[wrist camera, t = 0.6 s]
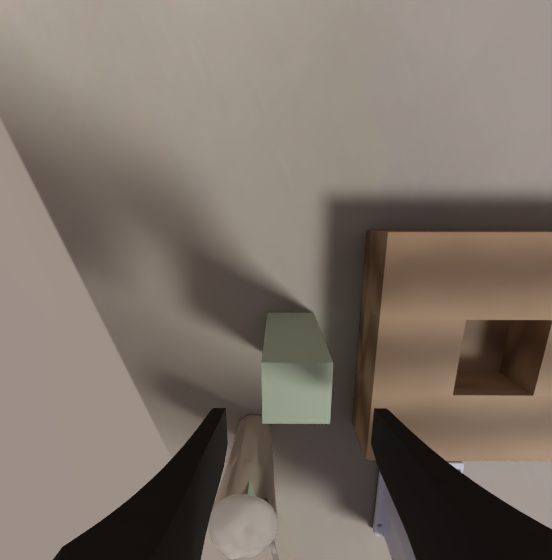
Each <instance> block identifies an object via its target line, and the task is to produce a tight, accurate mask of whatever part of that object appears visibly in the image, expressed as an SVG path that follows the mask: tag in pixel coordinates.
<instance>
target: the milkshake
mask: <svg viewBox="0 0 552 560" xmlns="http://www.w3.org/2000/svg"><path fill="white" fill-rule="evenodd" d="M277 530H278V517H277V506H276V494H275V482H274V464H273V447H272V430H271V427H270V424H262V416H260V415H248V416H246V417H245V418H243V419H241V420H240V422H239V425H238V428H237V431H236V435H235V438H234V442H233V445H232V449H231V452H230V456H229V459H228V463H227V466H226V469H225V472H224V475H223V477H222V480H221V483H220V486H219V489H218V492H217V495H216V499H215V502H214V505H213V508H212V512H211V515H210V519H209V532H210V536H211V539H212V541H213V543H214V544H215V546H216V547H217V548H218V549H219V550H221V551H222V552H223V553H224V554H225V555H226V556H227V557H228V558H229V559H231V560H233V559H236V558H240V557H253V556H255V555H257V554H258V553H260V552H261V551H263V550H264V549H266V548H267V547H268V546H269V545H270V548H271V552H272V556H273V560H279V559H278V555H277V550H276V546H275V542H274V538H275V536H276V534H277Z"/></svg>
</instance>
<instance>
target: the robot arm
mask: <svg viewBox="0 0 552 560" xmlns="http://www.w3.org/2000/svg"><path fill="white" fill-rule="evenodd" d="M227 444H228V442H227V425H226V408H213V409H212V410H211V411H210V412H209V414H208V415H207V416H206V418H205V419H204V421H203V422H202V423H201V425H200V426H199V427H198V429H197V430H196V431H195V432H194V434H193V435H192V436H191V437H190V439H189V440H188V441H187V442H186V443H185V445H184V446H183V447H182V448H181V449H180V450H179V451H178V453H177V454H176V455H175V456H174V457H173V458H172V459H171V460H170V461H169V462H168V464H167V465H166V466H165V467H164V468H163V469H162V470H161V471H160V472H159V473H158V474H157V475H156V476H155V477H154V478H153V479H151V480H150V481H149V482H148V483H147V484H146V485H145V486H144V487H143V488H142V489H140V490H139V491H138V492H137V493H136V494H135V495H134V496H132V497H131V498H130V499H129V500H128V501H126V502H125V503H124V504H123V505H121V506H120V507H119V508H118V509H116V510H115V511H114V512H112V513H111V514H110V515H108V516H107V517H106V518H104V519H103V520H102V521H100V522H99V523H97V524H96V525H95V526H93V527H92V528H90V529H89V530H87V531H86V532H84V533H83V534H81V535H80V536H78V537H77V538H75V539H74V540H72V541H71V542H69V543H68V544H66V545H65V546H63V547H62V548H61V550H60V551H59V552H58V554H57V555H56V557H55V558H54V559H53V560H201V555H202V550H203V545H204V540H205V535H206V531H207V527H208V523H209V519H210V515H211V512H212V508H213V505H214V501H215V497H216V494H217V490H218V486H219V483H220V479H221V475H222V471H223V468H224V462H225V456H226V450H227ZM371 446H372V449H373V453H374V456H375V459H376V462H377V465H378V468H379V478H378V487H377V496H376V505H375V514H374V523H373V532H374V534H375V535H376V536H384V537H385V540H386V543H387V546H388V549H389V552H390V555H391V558H392V560H552V529H550V528H548V527H546V526H545V525H543V524H541V523H539V522H538V521H536V520H534V519H532V518H531V517H529V516H527V515H525V514H524V513H522V512H520V511H518V510H517V509H515V508H514V507H512V506H510V505H509V504H507V503H505V502H504V501H502V500H501V499H499V498H498V497H496V496H494V495H493V494H491V493H490V492H488V491H487V490H485V489H484V488H482V487H481V486H479V485H478V484H476V483H475V482H474V481H472V480H471V479H469V478H468V477H467V476H465V475H464V474H463V470H464V464H463V463H462V462H461V461H445V460H444V459H443V458H442V457H441V456H439V455H438V454H437V453H436V452H434V451H433V450H432V449H431V448H430V447H429V446H427V445H426V444H425V443H424V442H423V441H422V440H421V439H419V438H418V437H417V436H416V435H415V434H414V433H413V432H412V431H411V430H410V429H408V428H407V427H406V426H405V425H404V424H403V423H402V422H401V421H400V420H399V419H398V418H397V417H396V416H395V415H394V414H392V413H391V412H390V411H389V410H388V409H387V408H374V414H373V425H372V436H371Z"/></svg>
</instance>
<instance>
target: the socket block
mask: <svg viewBox="0 0 552 560" xmlns="http://www.w3.org/2000/svg"><path fill="white" fill-rule="evenodd" d="M374 408H387V409H388V410H389V411H390V412H391V413H392V414H394V415H395V416H396V417H397V418H398V419H399V420H400V421H401V422H402V423H403V424H404V425H405V426H406V427H407V428H408V429H410V430H411V431H412V432H413V433H414V434H415V435H416V436H417V437H418V438H419V439H421V440H422V441H423V442H424V443H425V444H426V445H427V446H429V447H430V448H431V449H432V450H433V451H434V452H436V453H437V454H438V455H439V456H441V457H442V458H443V459H444V460H445V461H537V462H552V230H367V236H366V248H365V261H364V274H363V287H362V300H361V312H360V325H359V338H358V351H357V364H356V376H355V389H354V402H353V415H352V424H353V426H354V429H355V432H356V435H357V437H358V440H359V443H360V445H361V448H362V451H363V453H364V456H365V459H366V460H376V459H375V456H374V453H373V449H372V446H371V436H372V425H373V414H374Z"/></svg>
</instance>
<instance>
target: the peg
mask: <svg viewBox="0 0 552 560" xmlns="http://www.w3.org/2000/svg"><path fill="white" fill-rule="evenodd" d="M261 364H262V424H330V415H331V397H332V379H333V360H332V358H331V355H330V353H329V350H328V348H327V345H326V343H325V340H324V338H323V335H322V333H321V330H320V327H319V325H318V322H317V320H316V317H315V315H314V313H267V320H266V328H265V337H264V345H263V354H262V362H261Z"/></svg>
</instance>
